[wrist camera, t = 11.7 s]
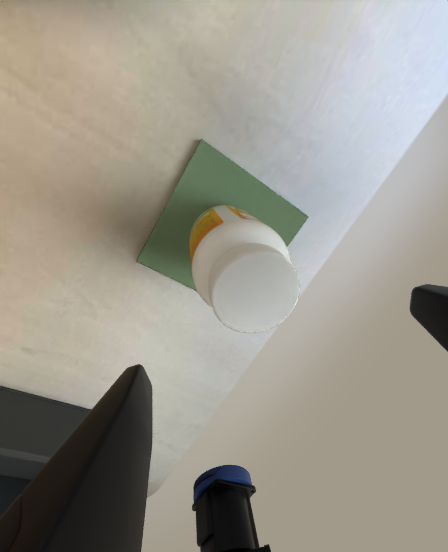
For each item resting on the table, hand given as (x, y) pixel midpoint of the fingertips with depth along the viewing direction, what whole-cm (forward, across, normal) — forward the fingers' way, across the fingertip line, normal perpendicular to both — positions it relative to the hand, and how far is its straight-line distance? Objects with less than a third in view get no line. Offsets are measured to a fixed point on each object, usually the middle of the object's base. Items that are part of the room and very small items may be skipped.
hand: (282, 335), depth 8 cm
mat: (+13, 0, 0) cm, 13 cm away
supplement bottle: (+13, 0, 0) cm, 13 cm away
